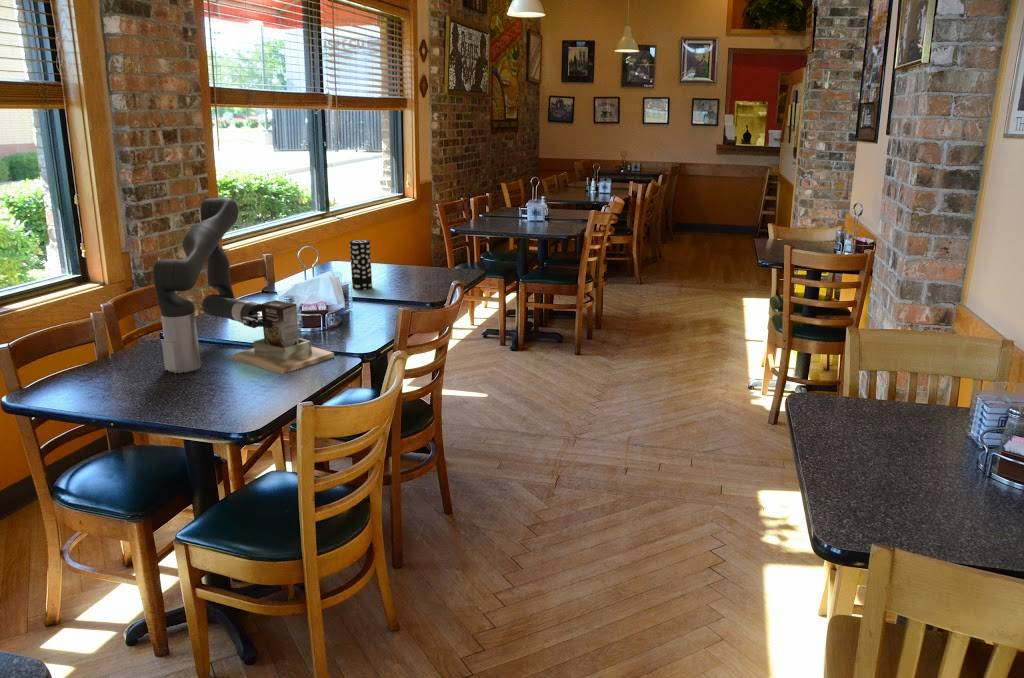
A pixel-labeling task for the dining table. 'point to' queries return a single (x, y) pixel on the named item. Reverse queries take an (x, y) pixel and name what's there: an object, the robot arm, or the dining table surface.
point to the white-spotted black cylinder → (361, 264)
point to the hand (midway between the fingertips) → (282, 321)
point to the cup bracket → (283, 356)
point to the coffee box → (280, 323)
